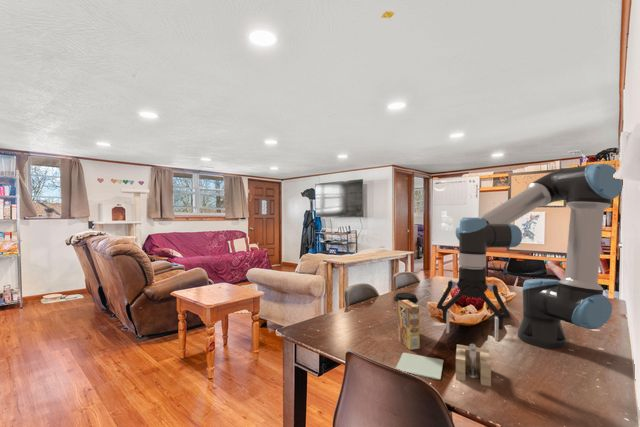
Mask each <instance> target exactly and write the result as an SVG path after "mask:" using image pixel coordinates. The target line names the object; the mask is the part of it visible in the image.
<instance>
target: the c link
mask: <svg viewBox="0 0 640 427" xmlns="http://www.w3.org/2000/svg"><path fill="white" fill-rule="evenodd" d="M466 370H469V345H464V344H456V350H455V380H458V381H462V382H466ZM476 372H479V377H480V379H479V380H480V385H481V386H487V387H492V363H491V357H490V350H489V348H488V349H487V348H482V347H477V350H476Z"/></svg>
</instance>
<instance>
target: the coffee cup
mask: <svg viewBox="0 0 640 427" xmlns="http://www.w3.org/2000/svg"><path fill="white" fill-rule="evenodd" d="M393 300H394V302H395V311H396V320H397V326H398V327H397V328H398V330H399V321H398V301H399V300H409V301H410V302H412V303H414V304H416V305H418V304H417V303H418V302H419V300H418V298H417V295H416V294H413V293H412V292H411V293H410V292H399V293H396V294H395V296H394V298H393Z"/></svg>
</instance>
